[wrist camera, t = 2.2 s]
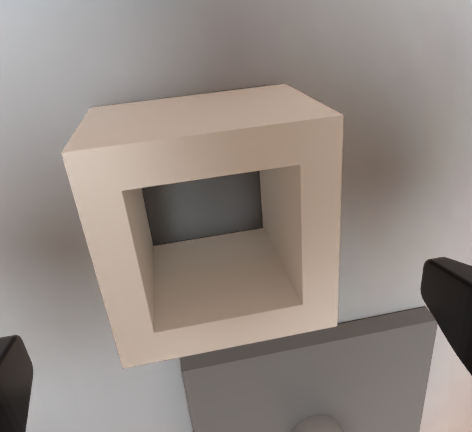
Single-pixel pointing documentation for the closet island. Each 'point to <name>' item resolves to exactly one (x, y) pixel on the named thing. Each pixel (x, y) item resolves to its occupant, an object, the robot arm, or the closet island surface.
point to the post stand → (317, 379)
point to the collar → (221, 246)
